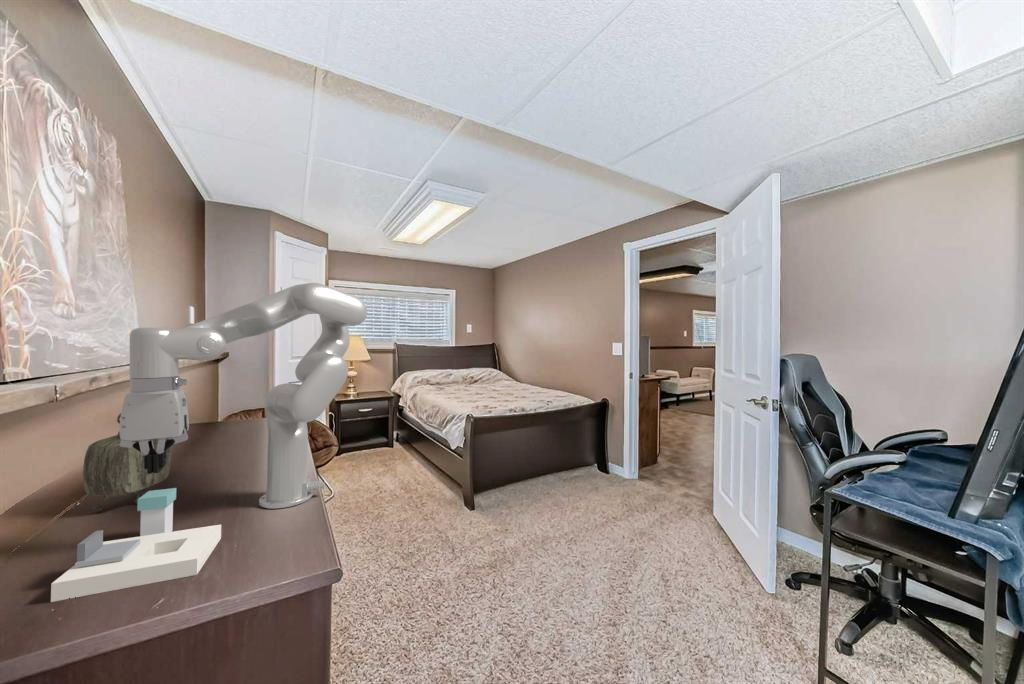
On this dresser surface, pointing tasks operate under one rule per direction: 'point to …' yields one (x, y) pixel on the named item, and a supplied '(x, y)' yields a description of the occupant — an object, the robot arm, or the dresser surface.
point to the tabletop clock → (118, 470)
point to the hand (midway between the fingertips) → (155, 471)
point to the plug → (156, 511)
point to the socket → (142, 563)
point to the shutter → (102, 550)
